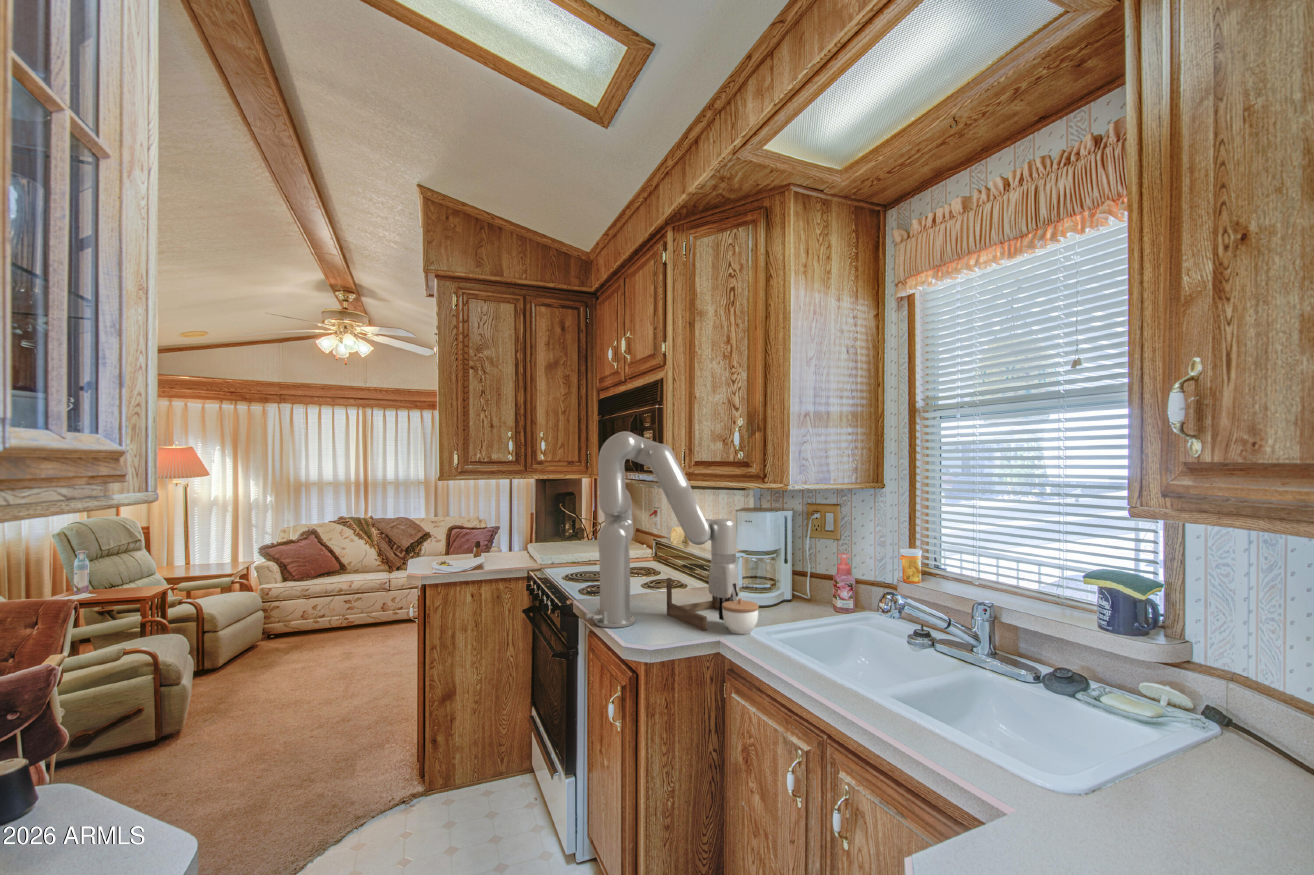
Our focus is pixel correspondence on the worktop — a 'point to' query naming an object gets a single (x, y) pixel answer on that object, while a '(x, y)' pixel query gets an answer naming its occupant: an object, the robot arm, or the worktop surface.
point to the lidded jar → (740, 615)
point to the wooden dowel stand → (689, 610)
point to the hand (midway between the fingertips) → (724, 619)
